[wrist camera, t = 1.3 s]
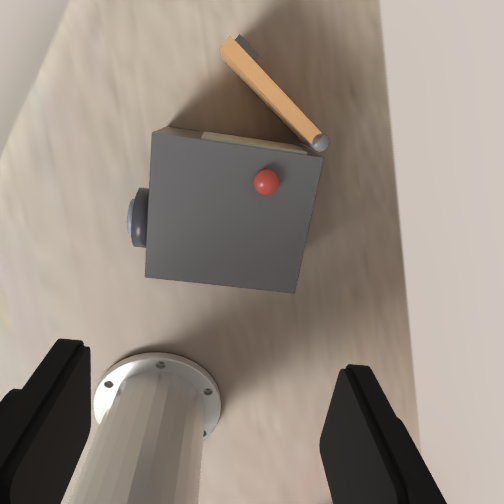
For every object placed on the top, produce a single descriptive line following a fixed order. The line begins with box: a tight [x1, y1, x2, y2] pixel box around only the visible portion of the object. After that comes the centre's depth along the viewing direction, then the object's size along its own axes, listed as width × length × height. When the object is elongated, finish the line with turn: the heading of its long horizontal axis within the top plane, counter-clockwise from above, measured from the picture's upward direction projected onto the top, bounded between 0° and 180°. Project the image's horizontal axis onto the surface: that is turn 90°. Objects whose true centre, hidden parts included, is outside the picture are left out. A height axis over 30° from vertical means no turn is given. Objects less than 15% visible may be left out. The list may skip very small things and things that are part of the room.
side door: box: [220, 34, 329, 152], centre depth 26 cm, size 2×9×6 cm, turn 47°
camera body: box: [127, 127, 324, 293], centre depth 28 cm, size 10×13×7 cm
